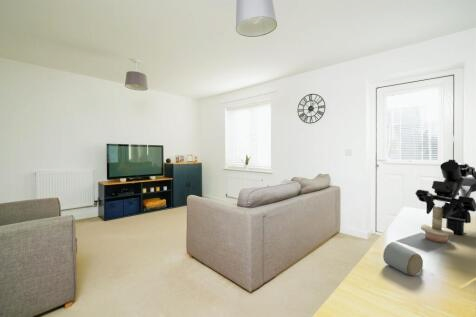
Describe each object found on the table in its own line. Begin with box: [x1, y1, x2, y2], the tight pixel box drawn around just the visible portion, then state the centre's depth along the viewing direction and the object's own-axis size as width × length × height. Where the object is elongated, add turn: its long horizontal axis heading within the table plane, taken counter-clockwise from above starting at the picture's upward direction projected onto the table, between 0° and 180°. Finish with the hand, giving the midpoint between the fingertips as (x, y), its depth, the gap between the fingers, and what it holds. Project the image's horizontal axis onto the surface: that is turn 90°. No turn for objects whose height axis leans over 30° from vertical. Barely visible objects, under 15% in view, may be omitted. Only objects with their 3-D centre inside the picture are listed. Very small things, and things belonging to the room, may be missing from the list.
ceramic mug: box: [382, 241, 424, 276], centre depth 72 cm, size 11×8×8 cm
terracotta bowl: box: [424, 231, 449, 243], centre depth 93 cm, size 7×7×4 cm
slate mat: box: [396, 232, 453, 253], centre depth 92 cm, size 20×11×1 cm, turn 117°
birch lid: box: [420, 205, 454, 237], centre depth 92 cm, size 10×10×10 cm
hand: (435, 215), depth 92 cm, fingers open, 5 cm apart
